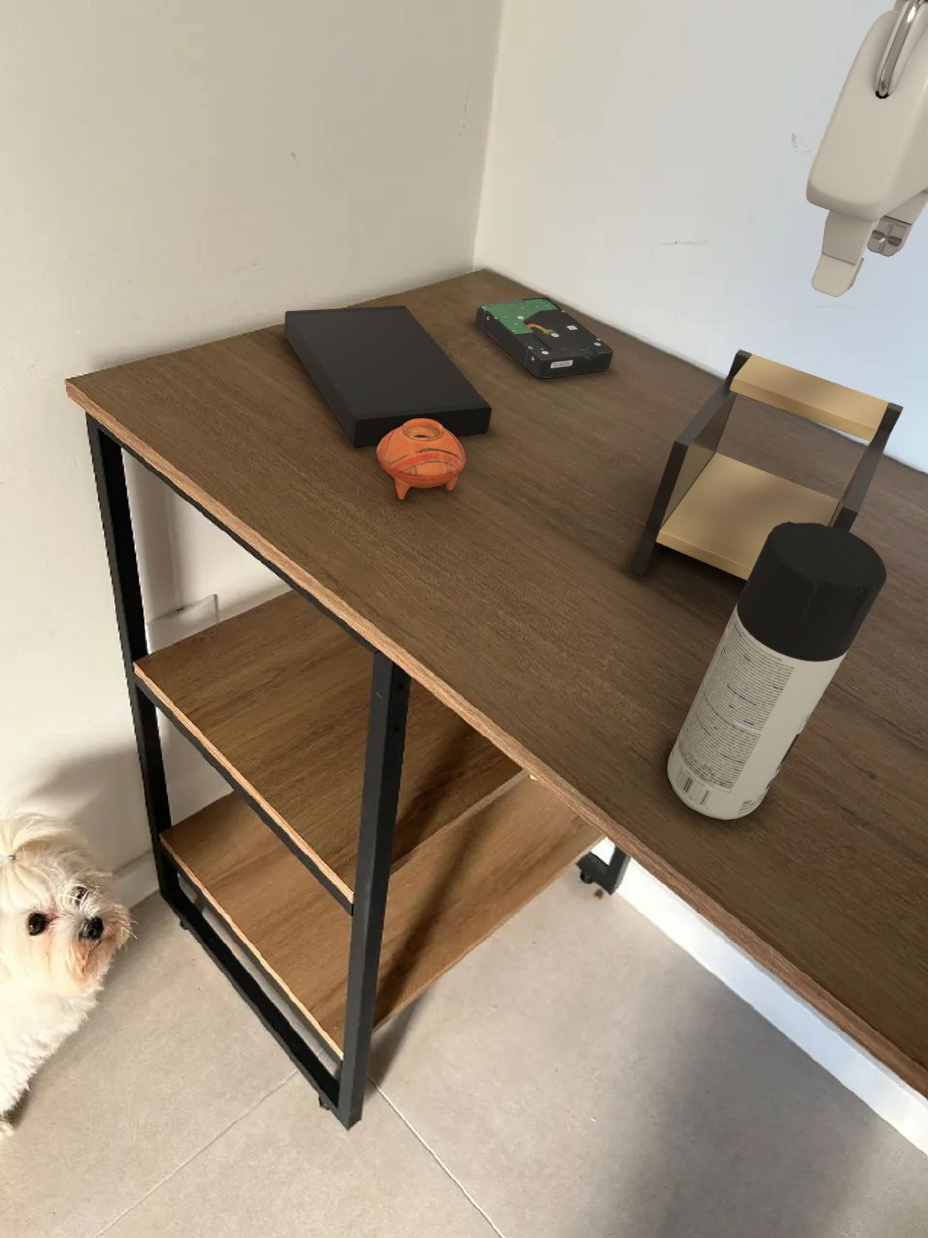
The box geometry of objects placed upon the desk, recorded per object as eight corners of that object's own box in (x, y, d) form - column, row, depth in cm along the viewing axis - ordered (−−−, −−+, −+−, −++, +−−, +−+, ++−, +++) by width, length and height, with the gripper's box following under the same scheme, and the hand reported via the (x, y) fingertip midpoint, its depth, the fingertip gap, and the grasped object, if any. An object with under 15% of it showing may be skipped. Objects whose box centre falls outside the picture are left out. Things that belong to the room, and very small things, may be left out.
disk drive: (610, 372, 109) (542, 315, 117) (616, 350, 107) (547, 294, 116) (537, 383, 104) (472, 323, 113) (542, 360, 102) (475, 300, 111)
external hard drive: (353, 447, 88) (355, 419, 86) (284, 336, 103) (284, 310, 101) (487, 433, 94) (492, 406, 92) (403, 329, 109) (406, 305, 107)
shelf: (831, 549, 87) (903, 406, 77) (791, 642, 76) (870, 489, 66) (687, 491, 91) (739, 348, 81) (629, 571, 80) (681, 417, 70)
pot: (444, 521, 81) (436, 451, 77) (367, 507, 84) (356, 438, 80) (483, 478, 86) (478, 410, 82) (410, 466, 90) (401, 400, 85)
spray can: (770, 829, 61) (910, 599, 48) (670, 818, 61) (783, 583, 47) (749, 751, 66) (870, 523, 53) (656, 740, 66) (755, 508, 52)
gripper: (1012, -15, 34) (854, 343, 43) (1090, -24, 47) (957, 250, 56) (846, -52, 36) (729, 295, 45) (966, -50, 49) (857, 216, 59)
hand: (857, 269), depth 51 cm, fingers open, 8 cm apart
